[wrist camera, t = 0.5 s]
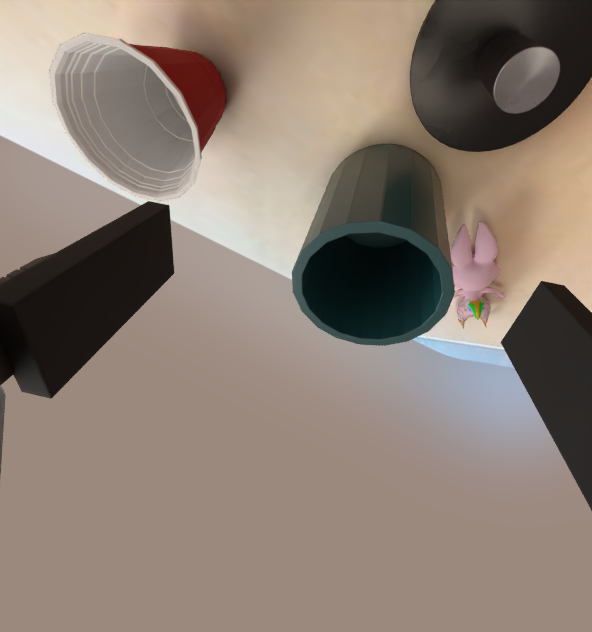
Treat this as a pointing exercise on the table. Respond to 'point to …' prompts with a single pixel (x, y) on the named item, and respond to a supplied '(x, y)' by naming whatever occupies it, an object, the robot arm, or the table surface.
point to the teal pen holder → (377, 250)
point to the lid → (499, 68)
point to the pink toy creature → (474, 272)
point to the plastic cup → (137, 111)
